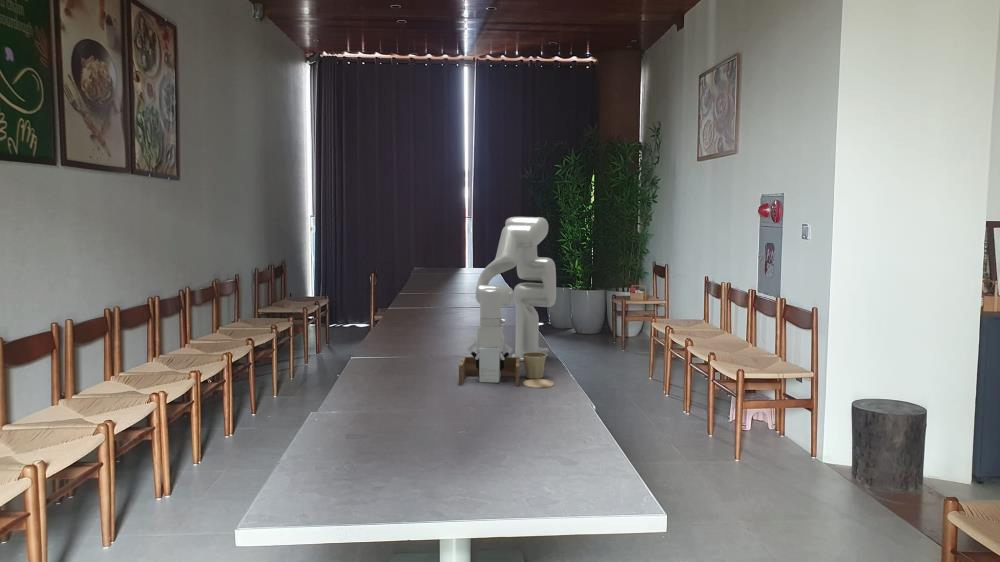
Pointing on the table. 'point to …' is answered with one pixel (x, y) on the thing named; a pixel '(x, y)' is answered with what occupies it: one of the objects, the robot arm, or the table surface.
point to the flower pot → (534, 364)
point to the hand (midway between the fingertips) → (490, 369)
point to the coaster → (538, 383)
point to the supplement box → (489, 365)
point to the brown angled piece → (469, 369)
